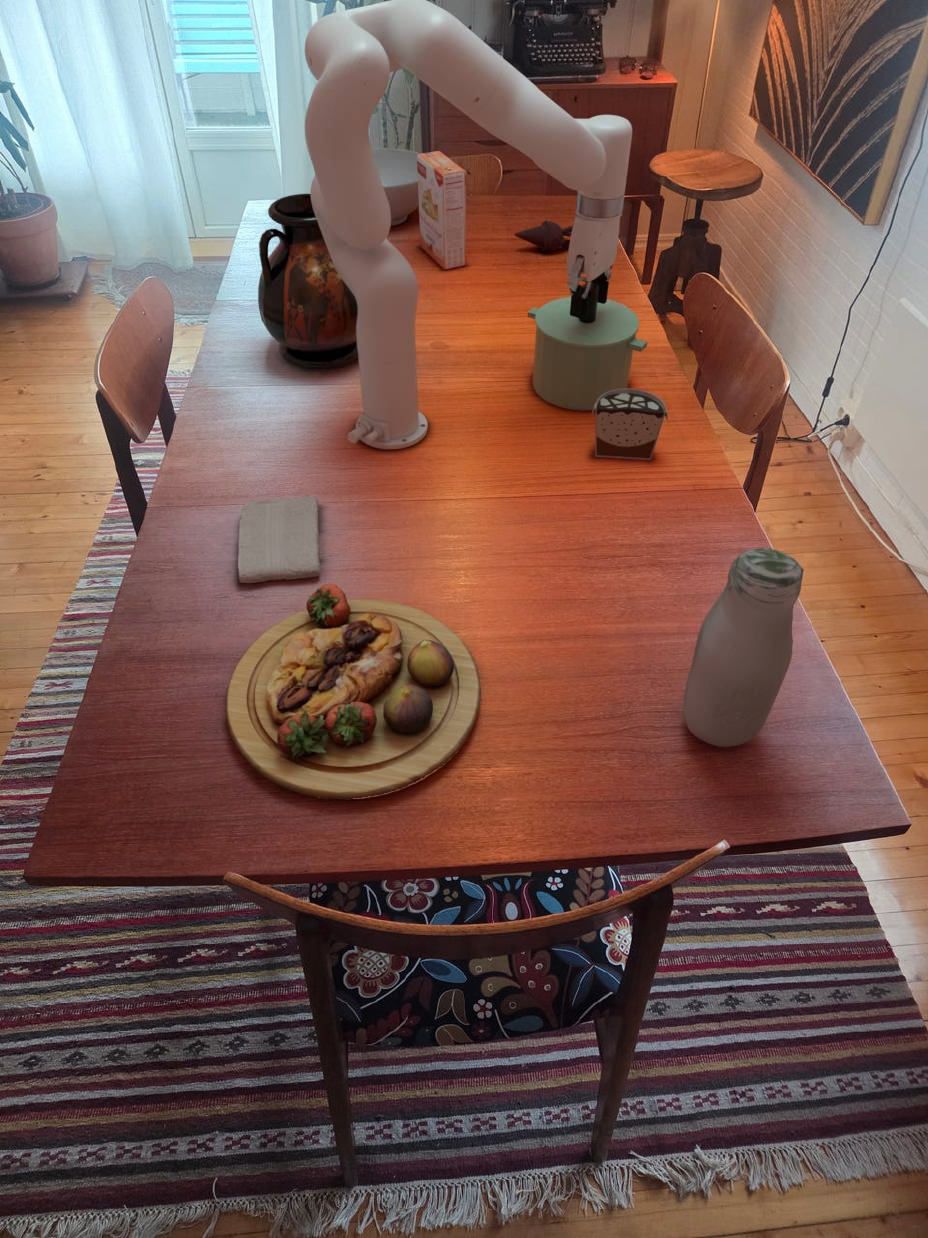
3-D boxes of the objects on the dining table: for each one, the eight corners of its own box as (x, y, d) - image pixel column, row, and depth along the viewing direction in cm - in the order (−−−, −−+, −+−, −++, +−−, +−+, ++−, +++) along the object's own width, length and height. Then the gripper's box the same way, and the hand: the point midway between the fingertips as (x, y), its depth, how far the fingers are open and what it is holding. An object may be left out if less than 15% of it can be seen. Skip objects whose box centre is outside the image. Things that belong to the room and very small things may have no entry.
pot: (612, 425, 156) (622, 361, 147) (503, 387, 165) (505, 324, 156) (655, 382, 166) (666, 320, 157) (550, 348, 175) (555, 287, 166)
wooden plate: (242, 614, 122) (231, 570, 116) (470, 604, 124) (471, 560, 118) (212, 813, 100) (196, 771, 94) (491, 797, 101) (493, 754, 96)
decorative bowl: (339, 243, 210) (334, 190, 202) (321, 202, 228) (316, 152, 220) (447, 232, 215) (447, 180, 207) (422, 192, 233) (420, 143, 225)
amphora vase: (343, 316, 184) (329, 174, 164) (397, 359, 172) (389, 211, 152) (248, 344, 176) (222, 198, 156) (297, 392, 163) (275, 240, 143)
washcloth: (319, 504, 140) (317, 488, 137) (323, 580, 127) (321, 564, 125) (243, 511, 138) (239, 495, 136) (240, 589, 126) (236, 573, 124)
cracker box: (418, 247, 209) (415, 152, 194) (441, 243, 211) (440, 149, 196) (442, 271, 200) (441, 173, 185) (466, 266, 202) (467, 169, 187)
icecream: (518, 231, 200) (582, 235, 202) (515, 210, 204) (579, 214, 206) (513, 257, 206) (576, 261, 208) (511, 236, 210) (572, 240, 211)
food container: (657, 439, 153) (667, 388, 146) (659, 460, 148) (669, 408, 141) (586, 435, 154) (592, 384, 146) (586, 456, 149) (592, 404, 142)
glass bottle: (744, 696, 112) (806, 526, 92) (766, 762, 105) (838, 593, 85) (667, 698, 112) (713, 527, 92) (684, 764, 105) (737, 595, 85)
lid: (608, 361, 148) (613, 321, 143) (515, 332, 155) (517, 292, 150) (655, 319, 159) (662, 280, 154) (566, 293, 166) (570, 255, 161)
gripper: (604, 182, 149) (592, 285, 161) (552, 215, 138) (544, 322, 151) (644, 191, 146) (629, 296, 158) (595, 226, 136) (583, 334, 148)
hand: (588, 308), depth 155 cm, fingers open, 6 cm apart
